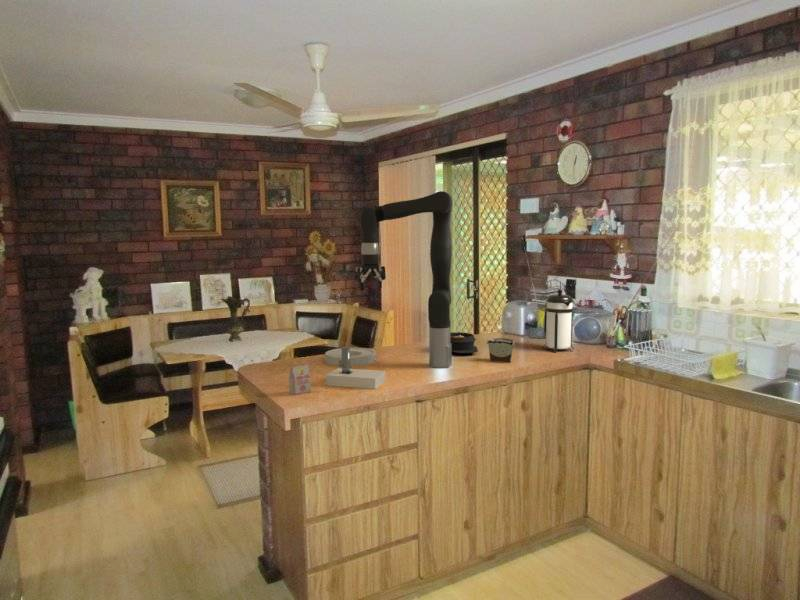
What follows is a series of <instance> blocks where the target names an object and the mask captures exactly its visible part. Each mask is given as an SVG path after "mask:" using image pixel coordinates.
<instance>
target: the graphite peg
mask: <svg viewBox="0 0 800 600" xmlns="http://www.w3.org/2000/svg"><path fill="white" fill-rule="evenodd" d="M341 348H342V365H341V368H342V374H350V369H351V366H350V348H351V347H350V346H348V345H347V346H341Z"/></svg>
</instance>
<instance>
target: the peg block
mask: <svg viewBox="0 0 800 600" xmlns="http://www.w3.org/2000/svg"><path fill="white" fill-rule="evenodd" d="M385 382H386V371H385V370H373V369H359V368H350V374H342V367H337V368H336V369H334V370H332V371H330V372H329V373H327V374H326V375H325V385H326V386H328V387H329V386H331V387H342V388H343V387H345V388H358V389H359V388H360V389H369V390H371V389H372V390H376V389H377V388H378V387H380V386H381V385H382V384H383V383H385Z"/></svg>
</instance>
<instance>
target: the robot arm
mask: <svg viewBox="0 0 800 600" xmlns="http://www.w3.org/2000/svg"><path fill="white" fill-rule="evenodd" d="M452 207H453V198H452V196H451V194H449V193H448V192H446V191H444V190H439V191H436V192H434V193H432V194H429V195H426V196H423V197H420V198H415V199H408V200H407V199H406V200H400V201H395V202H389V203H385V204H383V205H378V206H365V207H363V208H362V209H361V211H360V214H359V221H360V227H361V247H360V248H361V252H360V253H361V255H360V256H361V257H360V258H361V266H360V267H359V266H356V267H355V268H354V281H355V282H358V290H360V292H364V291H365V284H364V283H365V282H364V281H366V279H367V277H369V278H370V277H374V279H376V290H378V291H381V289H382V288H383V287H382V282H383V281H384V280H386V279H387V277H386V266H383V265H381V266H379V263H380V259H379V258H380V251H379V234H378V230H377V223H380V222H384V221H391V220H397V219H401V218H406V217H409V216H413V215H417V214H418V215H419V214H424V213H432V220H433V222H432V225H433V226H432V230H431V238H430V249H429V255H430V256H429V260H430V261H429V262H430V267H431V273H432V289H431V293H430V295H429V296H428V297H429V298H428V301H427V302H428V303H427V307H428V309H427V310H428V311H427V312H428V313H427V314H428V315H427V318H428V324H429V325H428V326H429V328H428V329H429V330H428V331H429V333H428V334H429V336H428V337H429V341H428V343H429V345H428V346H429V347H428V348H429V350H428V352H429V355H428V357H429V359H428V360H429V365H428V366H429V367H431V368H440V369H441V368H443V369H444V368H450V367H451V366H452V358H453V357H452V356H453V355H452V354H453V353H452V344H451V343H450V333H451V318H450V317H451V315H450V312H451V311H450V309H451V308H450V307H451V304H452V295H451V294H452V293H451V283H450V280H451V279H450V277H451V270H452V269H451V268H452V256H453V253H452V252H453V251H452V248H453V247H452V243H453V242H452V234H451V233H452V232H451V218H452ZM361 272H362V273H361Z"/></svg>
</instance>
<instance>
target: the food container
mask: <svg viewBox="0 0 800 600" xmlns="http://www.w3.org/2000/svg"><path fill="white" fill-rule="evenodd" d="M486 344H487V345H488V353H489V362H493V361H494V362H496V363H504V362H505V363H506V364H511V362H512V357H513V347H514V346H515V341H514V339H512V338H505V337H493V338H492V337H491V338H488V339H487V343H486Z"/></svg>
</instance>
